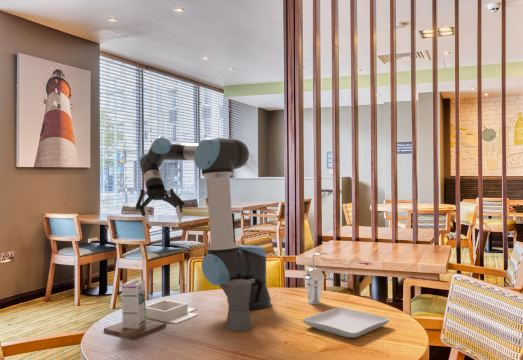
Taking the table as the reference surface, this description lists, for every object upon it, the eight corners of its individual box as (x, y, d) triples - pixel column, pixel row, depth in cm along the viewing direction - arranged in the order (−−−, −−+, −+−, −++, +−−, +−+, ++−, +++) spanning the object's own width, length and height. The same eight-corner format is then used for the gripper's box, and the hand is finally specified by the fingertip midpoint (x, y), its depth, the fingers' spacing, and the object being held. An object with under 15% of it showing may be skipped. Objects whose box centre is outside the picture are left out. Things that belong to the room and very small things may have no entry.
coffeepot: (225, 334, 150) (224, 278, 150) (215, 326, 158) (214, 272, 158) (268, 327, 156) (268, 273, 156) (257, 319, 165) (256, 268, 165)
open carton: (206, 311, 175) (206, 302, 175) (176, 323, 161) (176, 313, 161) (173, 305, 184) (173, 296, 184) (141, 316, 170) (141, 306, 170)
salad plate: (338, 315, 171) (338, 305, 171) (391, 328, 156) (391, 317, 156) (300, 329, 156) (300, 318, 156) (354, 345, 141) (354, 333, 141)
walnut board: (165, 327, 158) (165, 323, 158) (134, 339, 146) (134, 335, 146) (136, 320, 165) (136, 317, 165) (103, 332, 154) (103, 328, 154)
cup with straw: (312, 298, 192) (311, 249, 192) (330, 302, 186) (330, 251, 186) (298, 302, 186) (298, 252, 186) (317, 307, 180) (316, 254, 180)
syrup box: (139, 329, 152) (138, 284, 152) (121, 328, 153) (121, 283, 153) (146, 323, 158) (145, 280, 158) (129, 322, 159) (129, 280, 159)
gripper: (180, 188, 211) (191, 224, 198) (123, 189, 200) (131, 228, 187) (183, 176, 207) (195, 212, 193) (125, 177, 195) (134, 215, 182)
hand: (164, 220), depth 190 cm, fingers open, 13 cm apart
